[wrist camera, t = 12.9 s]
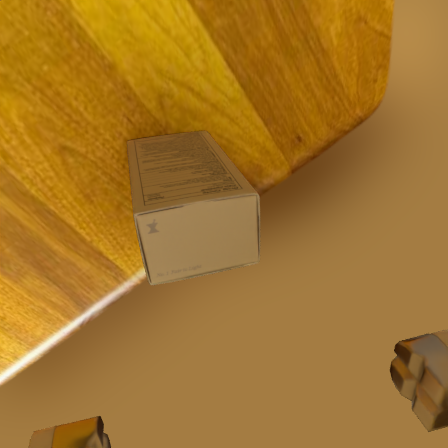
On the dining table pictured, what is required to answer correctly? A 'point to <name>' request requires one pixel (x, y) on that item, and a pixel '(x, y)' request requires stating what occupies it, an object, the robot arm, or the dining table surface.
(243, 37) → the dining table surface
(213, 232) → the cosmetic box
